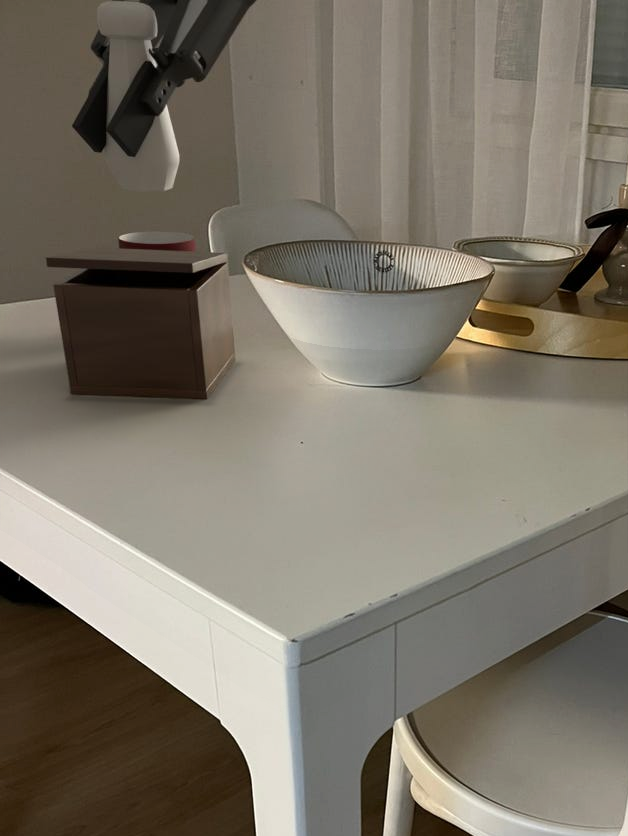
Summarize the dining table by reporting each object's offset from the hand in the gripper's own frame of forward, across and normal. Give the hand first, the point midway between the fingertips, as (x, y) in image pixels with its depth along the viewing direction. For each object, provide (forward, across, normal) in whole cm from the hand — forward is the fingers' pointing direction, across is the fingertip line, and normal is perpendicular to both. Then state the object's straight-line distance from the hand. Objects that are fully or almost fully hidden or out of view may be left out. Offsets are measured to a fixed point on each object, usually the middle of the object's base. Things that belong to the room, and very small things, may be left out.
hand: (103, 141), depth 79 cm
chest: (+8, -8, +23) cm, 26 cm away
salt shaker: (0, 0, +6) cm, 6 cm away
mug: (-2, -21, +33) cm, 39 cm away
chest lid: (+1, -8, +15) cm, 17 cm away
